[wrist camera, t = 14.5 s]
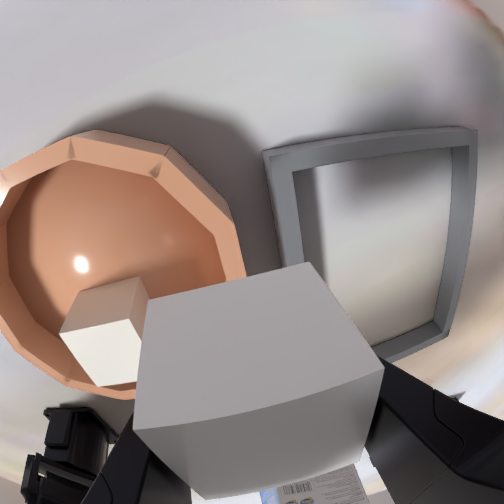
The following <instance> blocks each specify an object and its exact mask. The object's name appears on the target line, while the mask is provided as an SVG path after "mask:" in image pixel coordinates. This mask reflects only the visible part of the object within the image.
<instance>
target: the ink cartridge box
mask: <svg viewBox="0 0 504 504" xmlns="http://www.w3.org/2000/svg"><path fill="white" fill-rule="evenodd" d="M259 492H260V496H261V500H262V504H370V503H369V501H368V498H367V495H366V493H365V490H364V488H363V486H362V483H361V481H360V478H359V476H358V473H357V471H356V468H355V466H354V463H353V464H350V465H348V466H345V467H342V468H340V469H337V470H334V471H331V472H328V473H325V474H322V475H319V476H316V477H313V478H309V479H306V480H302V481H299V482H295V483H292V484H288V485H284V486H280V487H276V488H272V489H267V490H263V491H259Z"/></svg>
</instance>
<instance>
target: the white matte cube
mask: <svg viewBox="0 0 504 504" xmlns="http://www.w3.org/2000/svg"><path fill="white" fill-rule="evenodd" d="M148 300H150V298H149V296H148V294H147V291H146V289H145V287H144V285H143V282H142V280H141V278H140V276H137V277H133V278H129V279H126V280H122V281H118V282H114V283H110V284H107V285H103V286H99V287H95V288H92V289H88V290H84V291H80V292H78V294H77V296H76V298H75V300H74V302H73V304H72V306H71V308H70V310H69V312H68V314H67V317H66V319H65V321H64V323H63V325H62V327H61V330H60V332H59V335H60V336H61V338H62V339H63V341H64V342H65V344H66V345H67V347H68V348H69V350H70V351H71V353H72V354H73V355H74V357H75V358H76V359H77V361H78V362H79V364H80V365H81V366H82V368H83V369H84V370H85V372H86V373H87V374H88V375H89V377H90V378H91V379H92V381H93V382H94V383H95V384H96V386H97V387H100V386H108V385H116V384H123V383H129V382H136V381H137V375H138V367H139V358H140V351H141V343H142V336H143V329H144V323H145V316H146V310H147V304H148Z"/></svg>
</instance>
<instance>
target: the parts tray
mask: <svg viewBox="0 0 504 504" xmlns="http://www.w3.org/2000/svg"><path fill="white" fill-rule="evenodd" d="M446 147H452V189H451V206H450V219H449V229H448V238H447V246H446V254H445V261H444V267H443V273H442V279H441V285H440V290H439V295H438V300H437V305H436V309H435V314H434V318H433V322H430V323H428V324H426V325H424V326H422V327H419V328H417V329H415V330H413V331H410V332H408V333H406V334H403V335H401V336H399V337H396V338H394V339H391V340H389V341H386V342H384V343H381V344H379V345H376V346H374V347H371V348H372V350H373V351H374V353H375V354H376V355H378V356H380V357H381V358H383V359H385V360H386V361H388V362H390V363H392V362H395V361H397V360H399V359H402V358H404V357H406V356H408V355H411V354H413V353H415V352H417V351H419V350H421V349H423V348H425V347H427V346H430V345H432V344H434V343H436V342H438V341H440V340H442V339H444V338H445V337H447V336H448V335H449V331H450V328H451V325H452V321H453V318H454V314H455V310H456V307H457V303H458V299H459V295H460V290H461V286H462V282H463V277H464V272H465V267H466V262H467V256H468V251H469V245H470V238H471V231H472V223H473V215H474V206H475V194H476V179H477V130H473V129H469V128H464V127H460V126H459V127H438V128H422V129H409V130H398V131H388V132H379V133H370V134H362V135H354V136H347V137H339V138H333V139H326V140H320V141H314V142H308V143H302V144H296V145H291V146H285V147H280V148H275V149H270V150H265V151H262V156H263V162H264V167H265V173H266V178H267V183H268V189H269V194H270V200H271V206H272V211H273V217H274V223H275V229H276V234H277V240H278V246H279V252H280V258H281V264H282V268H285V267H289V266H293V265H297V264H301V263H304V255H303V247H302V239H301V232H300V224H299V217H298V209H297V202H296V195H295V189H294V182H293V175H292V172H293V171H298V170H303V169H308V168H313V167H319V166H324V165H329V164H335V163H341V162H346V161H352V160H358V159H364V158H370V157H377V156H383V155H390V154H397V153H405V152H412V151H420V150H428V149H437V148H446Z"/></svg>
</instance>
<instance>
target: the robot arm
mask: <svg viewBox="0 0 504 504" xmlns="http://www.w3.org/2000/svg"><path fill="white" fill-rule="evenodd" d="M376 356H377V357H378V359H379V360H380V362H381V363H382V365H383V366H384V368H385V369H384V373H383V378H382V382H381V387H380V391H379V395H378V399H377V403H376V407H375V411H374V415H373V418H372V422H371V425H370V429H369V432H368V436H367V439H366V442H365V445H364V446H365V448H366V450H367V452H368V454H369V456H370V457H371V459H372V461H373V463H374V465H375V467H376V469H377V471H378V472H379V474H380V476H381V478H382V480H383V482H384V484H385V486H386V488H387V489H388V491H389V493H390V495H391V497H392V499H393V501H394V502H395V504H504V421H503V420H501V419H498V418H496V417H493V416H491V415H488V414H486V413H483V412H481V411H478V410H476V409H473V408H471V407H469V406H467V405H464V404H462V403H460V402H458V401H456V400H454V399H452V398H451V397H449V396H447V395H445V394H443V393H441V392H440V391H438V390H436V389H434V390H433V388H432V387H431V386H429V385H427V384H426V383H424V382H422V381H420V380H419V379H417V378H415V377H414V376H412V375H410V374H408V373H407V372H405V371H403V370H402V369H400V368H398V367H396V366H395V365H393V364H391V363H390V362H388V361H386V360H385V359H383V358H381V357H380V356H378V355H376ZM43 414H44V415H45V416H46V417H47V418H48V419H49V420H50V421H49V425H48V429H47V433H46V438H45V442H44V444H45V445H46V448H45V453H44V456H42V455H41V454H39V453H37V452H36V455H29V454H28V457H27V461H26V466H25V471H24V475H23V481H22V486H21V494H22V495H23V497H24V499H25V503H27V504H192V501H191V489H190V486H189V485H187V484H186V483H185V482H184V481H183V480H182V479H181V478H180V477H179V476H177V475H176V474H175V473H174V472H173V471H172V470H171V469H170V468H169V467H168V466H167V465H166V464H165V463H164V462H163V461H162V460H161V459H160V458H159V457H158V456H157V455H156V454H155V453H154V452H153V451H152V450H151V449H150V448H149V447H148V446H147V445H146V444H145V443H144V442H143V441H142V440H141V438H140V437H139V436H138V435H137V434H136V433H135V432H134V431H133V418H134V412H133V413H132V415H131V417H130V419H129V420H128V422H127V424H126V426H125V427H124V429H123V431H122V433H121V435H120V436H118V435H117V434H116V433H115V432H114V431H113V430H112V429H111V428H110V427H109V426H108V425H107V424H106V423H105V422H104V421H103V420H102V419H101V418H100V417H99V416H98V415H97V414H96V413H95V412H94V411H93V410H92V409H90V408H74V409H47V410H44V413H43ZM109 444H115V445H114V447H113V449H112V450H111V452H110V454H109V456H108V447H109ZM107 457H108V458H107ZM38 472H39V473H41V474H43V475H45V476H44V477H42V476H40V475H38Z"/></svg>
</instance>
